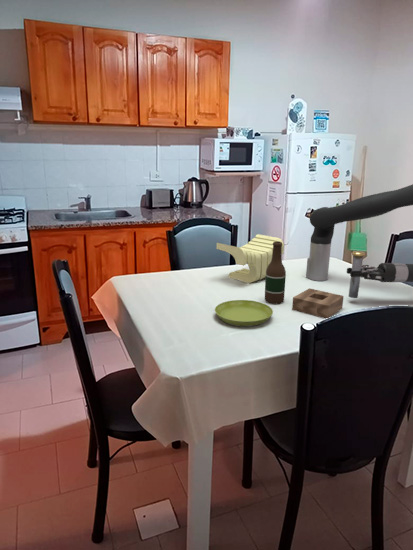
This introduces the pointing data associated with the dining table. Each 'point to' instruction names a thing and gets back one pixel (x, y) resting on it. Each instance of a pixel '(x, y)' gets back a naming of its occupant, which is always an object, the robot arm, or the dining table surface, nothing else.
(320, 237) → the robot arm
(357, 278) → the steel pin
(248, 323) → the saucer
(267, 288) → the beer bottle
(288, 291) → the dining table surface
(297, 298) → the block
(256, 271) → the slatted curved stool
